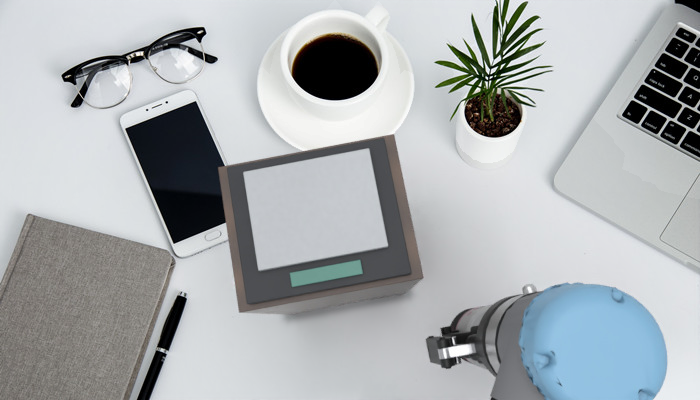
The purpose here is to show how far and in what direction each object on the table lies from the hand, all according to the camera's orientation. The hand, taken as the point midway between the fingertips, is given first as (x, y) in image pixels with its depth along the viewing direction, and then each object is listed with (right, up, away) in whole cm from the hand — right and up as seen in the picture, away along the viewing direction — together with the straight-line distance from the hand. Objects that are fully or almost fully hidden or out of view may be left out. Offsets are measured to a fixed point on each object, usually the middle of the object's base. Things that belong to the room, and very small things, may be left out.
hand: (481, 336), depth 70 cm
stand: (-16, +8, +15) cm, 23 cm away
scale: (-18, +14, -17) cm, 28 cm away
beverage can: (0, -1, +4) cm, 4 cm away
